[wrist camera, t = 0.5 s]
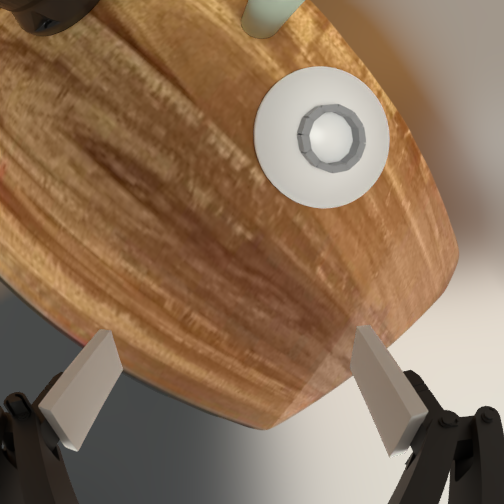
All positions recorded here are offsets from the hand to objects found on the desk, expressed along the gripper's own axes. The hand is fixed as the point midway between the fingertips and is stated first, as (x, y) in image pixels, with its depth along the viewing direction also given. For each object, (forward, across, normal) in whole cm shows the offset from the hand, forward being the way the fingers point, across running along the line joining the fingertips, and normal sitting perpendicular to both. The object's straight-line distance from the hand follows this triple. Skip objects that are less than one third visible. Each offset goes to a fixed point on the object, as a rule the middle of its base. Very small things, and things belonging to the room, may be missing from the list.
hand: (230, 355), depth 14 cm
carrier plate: (+26, +12, +14) cm, 32 cm away
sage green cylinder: (+22, +3, +30) cm, 37 cm away
